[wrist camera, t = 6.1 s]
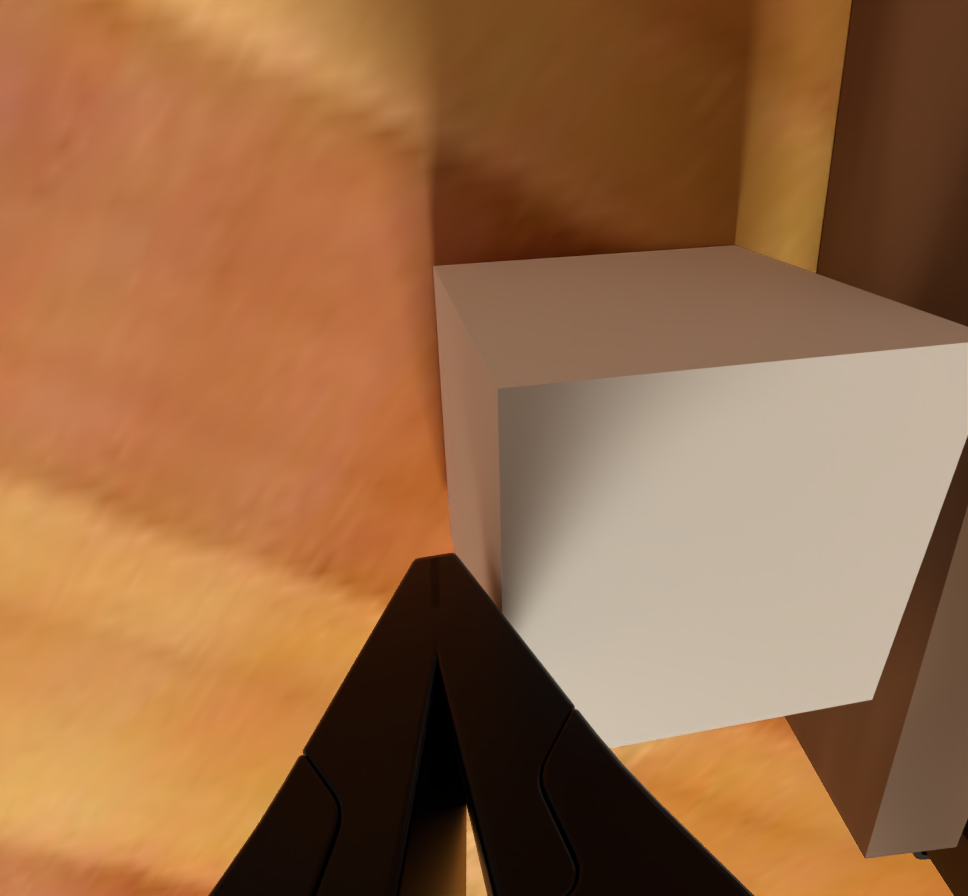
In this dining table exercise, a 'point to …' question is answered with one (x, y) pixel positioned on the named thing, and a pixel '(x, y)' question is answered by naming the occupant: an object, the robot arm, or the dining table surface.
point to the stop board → (964, 514)
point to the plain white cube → (695, 475)
